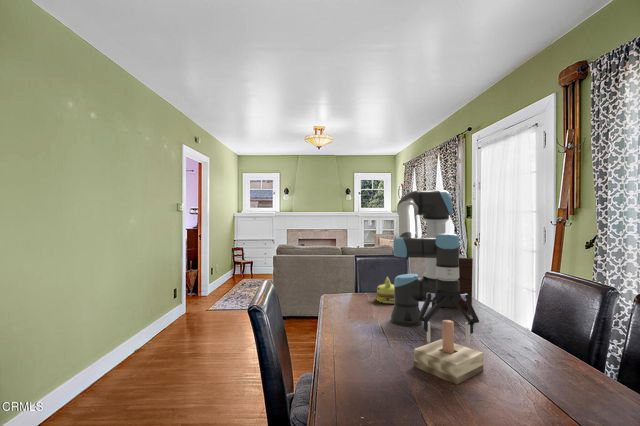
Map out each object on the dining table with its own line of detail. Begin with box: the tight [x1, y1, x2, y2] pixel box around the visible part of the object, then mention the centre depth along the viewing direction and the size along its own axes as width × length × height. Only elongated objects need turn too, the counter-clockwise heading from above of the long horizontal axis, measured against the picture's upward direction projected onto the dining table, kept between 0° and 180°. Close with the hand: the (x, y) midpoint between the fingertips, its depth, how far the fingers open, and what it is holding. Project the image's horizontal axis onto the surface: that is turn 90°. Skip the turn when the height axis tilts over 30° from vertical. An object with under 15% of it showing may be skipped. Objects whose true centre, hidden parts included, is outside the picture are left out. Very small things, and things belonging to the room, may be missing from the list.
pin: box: [441, 319, 455, 355], centre depth 115 cm, size 4×4×14 cm
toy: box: [375, 276, 394, 304], centre depth 208 cm, size 16×15×15 cm
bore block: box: [413, 338, 484, 385], centre depth 115 cm, size 16×16×6 cm
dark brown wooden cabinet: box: [431, 257, 474, 316], centre depth 187 cm, size 21×11×30 cm, turn 71°
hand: (448, 342), depth 115 cm, fingers open, 12 cm apart
